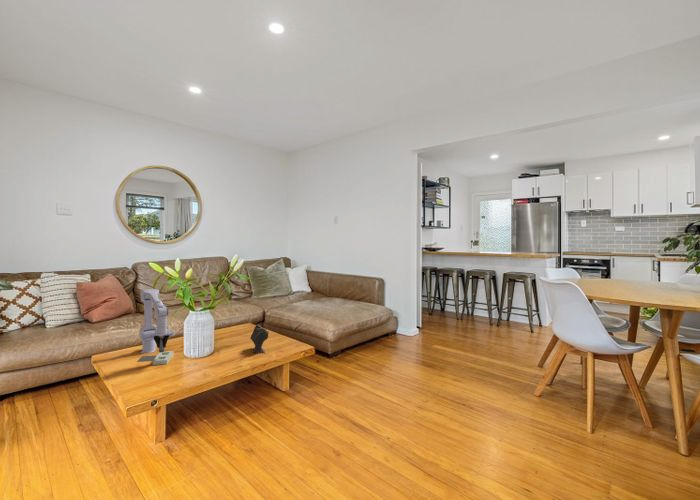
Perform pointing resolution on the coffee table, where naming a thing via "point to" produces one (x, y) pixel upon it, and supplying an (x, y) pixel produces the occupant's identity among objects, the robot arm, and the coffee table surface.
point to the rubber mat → (146, 358)
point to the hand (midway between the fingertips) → (161, 347)
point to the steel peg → (161, 344)
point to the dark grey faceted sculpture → (259, 338)
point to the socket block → (163, 358)
